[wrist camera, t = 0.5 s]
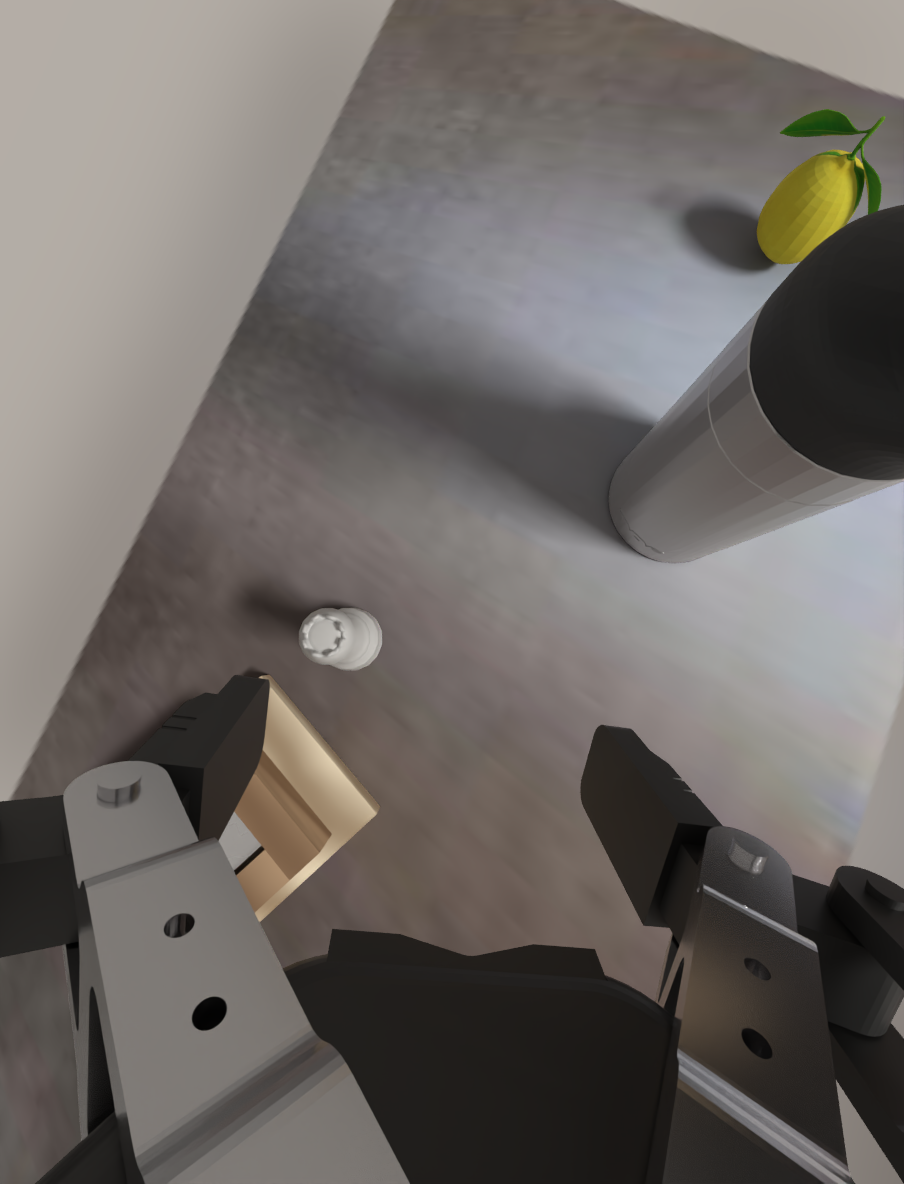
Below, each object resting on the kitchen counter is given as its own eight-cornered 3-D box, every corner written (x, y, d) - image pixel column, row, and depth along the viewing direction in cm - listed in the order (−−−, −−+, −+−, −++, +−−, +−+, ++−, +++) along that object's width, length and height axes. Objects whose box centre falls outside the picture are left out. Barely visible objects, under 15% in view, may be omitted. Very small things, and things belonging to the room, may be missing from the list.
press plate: (218, 780, 31) (212, 783, 30) (266, 840, 30) (261, 845, 30) (158, 833, 30) (150, 838, 30) (206, 895, 30) (199, 901, 29)
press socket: (269, 674, 35) (242, 678, 30) (380, 806, 33) (369, 830, 29) (88, 833, 33) (31, 861, 29) (197, 975, 32) (155, 1027, 28)
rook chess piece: (309, 649, 35) (266, 648, 27) (343, 596, 35) (311, 580, 27) (361, 682, 35) (334, 692, 27) (395, 628, 35) (378, 622, 27)
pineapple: (723, 222, 39) (816, 74, 29) (795, 211, 39) (912, 60, 29) (742, 299, 38) (844, 174, 28) (816, 287, 38) (944, 159, 28)
